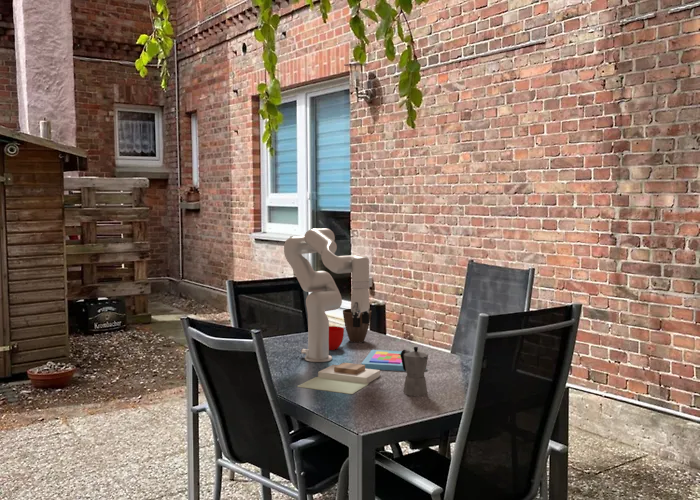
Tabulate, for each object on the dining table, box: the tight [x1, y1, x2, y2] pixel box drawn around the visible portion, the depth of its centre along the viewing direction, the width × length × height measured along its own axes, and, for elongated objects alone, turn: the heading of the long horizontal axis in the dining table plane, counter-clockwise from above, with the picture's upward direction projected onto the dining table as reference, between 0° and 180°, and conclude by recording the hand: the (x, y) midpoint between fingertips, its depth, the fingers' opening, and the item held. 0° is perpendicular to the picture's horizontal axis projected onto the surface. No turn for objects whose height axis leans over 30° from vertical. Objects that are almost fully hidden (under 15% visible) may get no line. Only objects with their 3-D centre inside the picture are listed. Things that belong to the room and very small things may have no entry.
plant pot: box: [342, 308, 372, 343], centre depth 364 cm, size 15×15×16 cm
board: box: [317, 364, 381, 384], centre depth 292 cm, size 22×14×2 cm, turn 65°
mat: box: [296, 376, 370, 395], centre depth 279 cm, size 24×16×1 cm, turn 65°
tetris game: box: [360, 349, 406, 372], centre depth 317 cm, size 28×3×28 cm
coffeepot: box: [401, 346, 429, 397], centre depth 269 cm, size 15×9×18 cm, turn 35°
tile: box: [334, 362, 365, 374], centre depth 292 cm, size 10×9×2 cm
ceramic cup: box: [329, 325, 345, 351], centre depth 347 cm, size 13×17×10 cm
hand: (361, 325), depth 300 cm, fingers open, 9 cm apart
